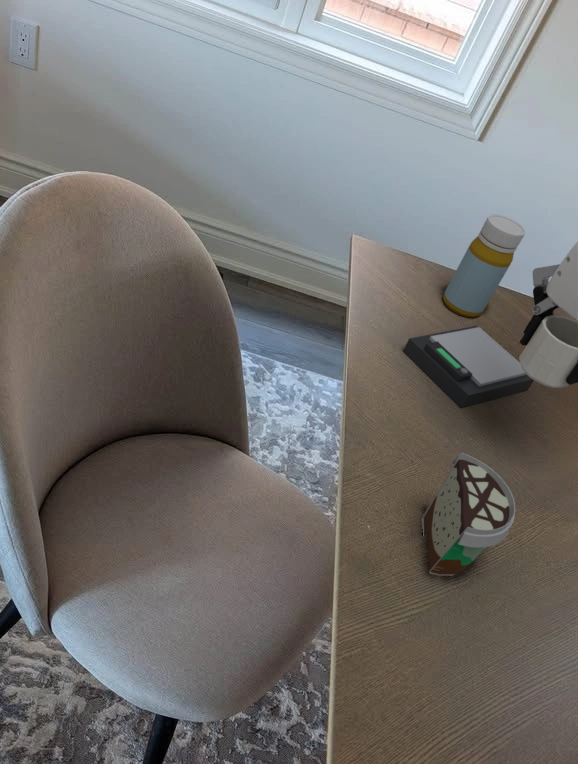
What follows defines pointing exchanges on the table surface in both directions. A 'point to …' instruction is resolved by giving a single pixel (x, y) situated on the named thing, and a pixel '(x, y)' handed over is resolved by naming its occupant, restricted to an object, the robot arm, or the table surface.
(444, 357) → the scale
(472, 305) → the bottle
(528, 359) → the cup
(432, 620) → the table surface
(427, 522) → the food container
